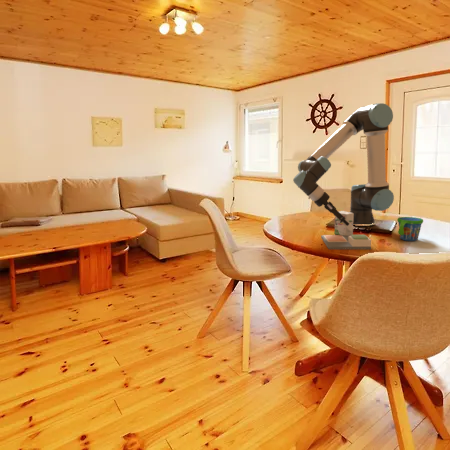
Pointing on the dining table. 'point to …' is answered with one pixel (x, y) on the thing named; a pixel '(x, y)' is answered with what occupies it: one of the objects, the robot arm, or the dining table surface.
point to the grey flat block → (345, 242)
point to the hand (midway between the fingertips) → (350, 227)
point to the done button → (359, 237)
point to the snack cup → (409, 228)
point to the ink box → (340, 227)
